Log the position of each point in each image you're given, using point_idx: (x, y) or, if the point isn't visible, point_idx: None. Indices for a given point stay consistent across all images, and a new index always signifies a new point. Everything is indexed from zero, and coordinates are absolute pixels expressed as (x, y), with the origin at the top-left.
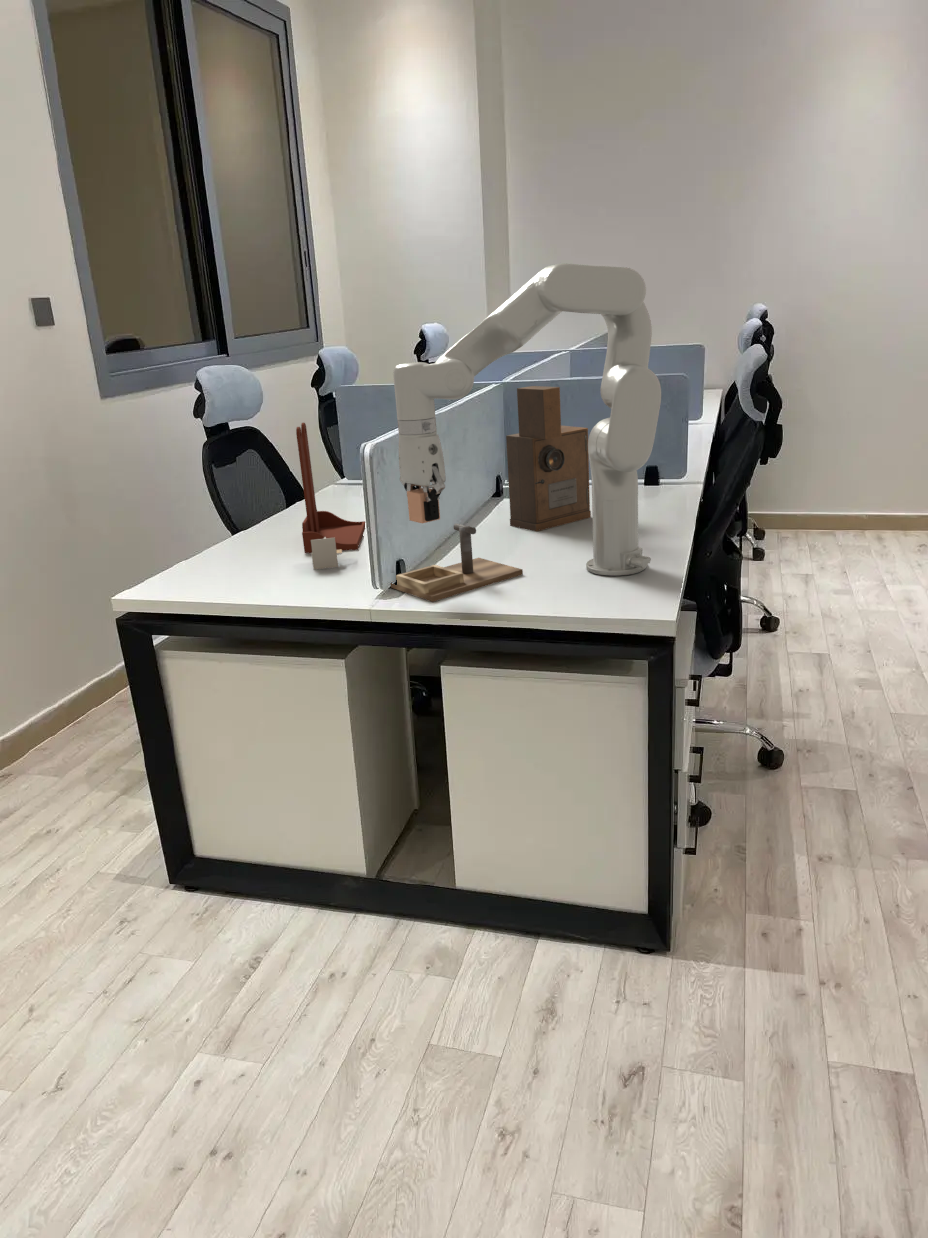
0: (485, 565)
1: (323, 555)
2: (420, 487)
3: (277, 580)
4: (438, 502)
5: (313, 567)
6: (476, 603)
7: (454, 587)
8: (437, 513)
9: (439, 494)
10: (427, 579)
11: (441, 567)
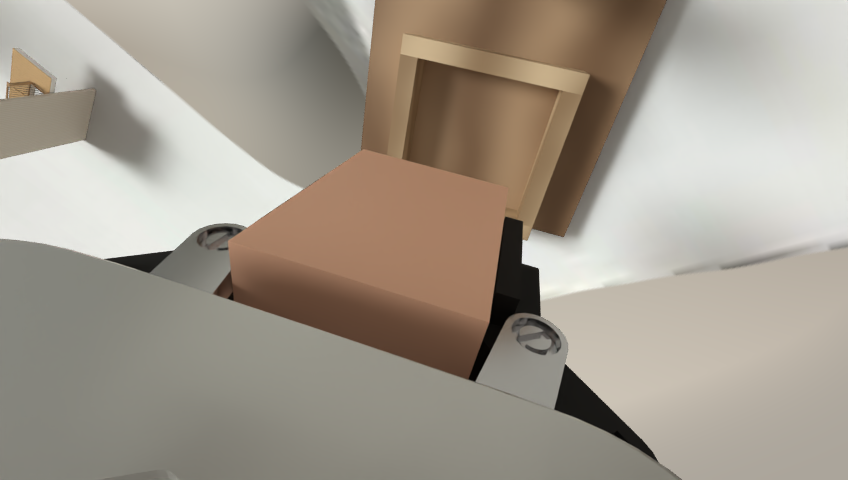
0: None
1: (50, 125)
2: (220, 291)
3: (122, 238)
4: (498, 247)
5: (78, 140)
6: (715, 188)
7: (584, 139)
8: (536, 271)
9: (615, 423)
10: (438, 108)
11: (455, 53)
